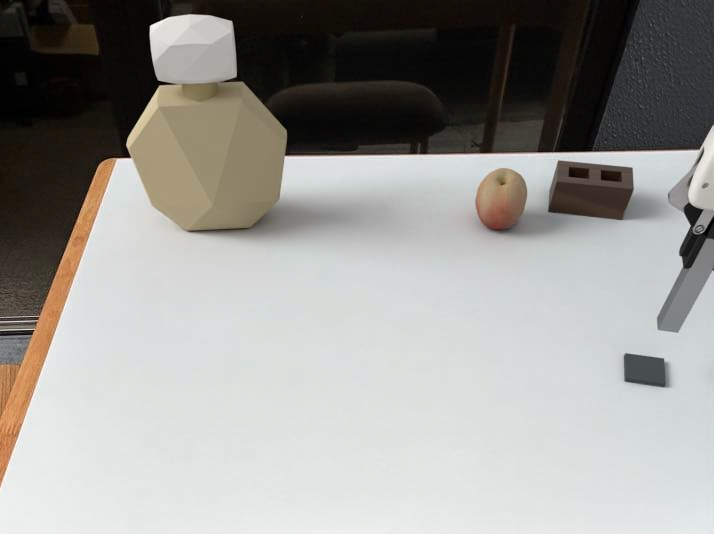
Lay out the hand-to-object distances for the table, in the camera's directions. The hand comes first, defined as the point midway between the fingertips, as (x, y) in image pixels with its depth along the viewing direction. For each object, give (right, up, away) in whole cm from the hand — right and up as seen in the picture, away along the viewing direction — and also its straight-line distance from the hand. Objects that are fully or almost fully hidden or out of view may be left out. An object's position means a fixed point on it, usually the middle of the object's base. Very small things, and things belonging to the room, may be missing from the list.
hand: (700, 262), depth 73 cm
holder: (+2, +25, +36) cm, 44 cm away
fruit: (-14, +20, +33) cm, 41 cm away
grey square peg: (0, -5, +7) cm, 9 cm away
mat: (0, -9, +13) cm, 16 cm away
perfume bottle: (-59, +22, +36) cm, 73 cm away
